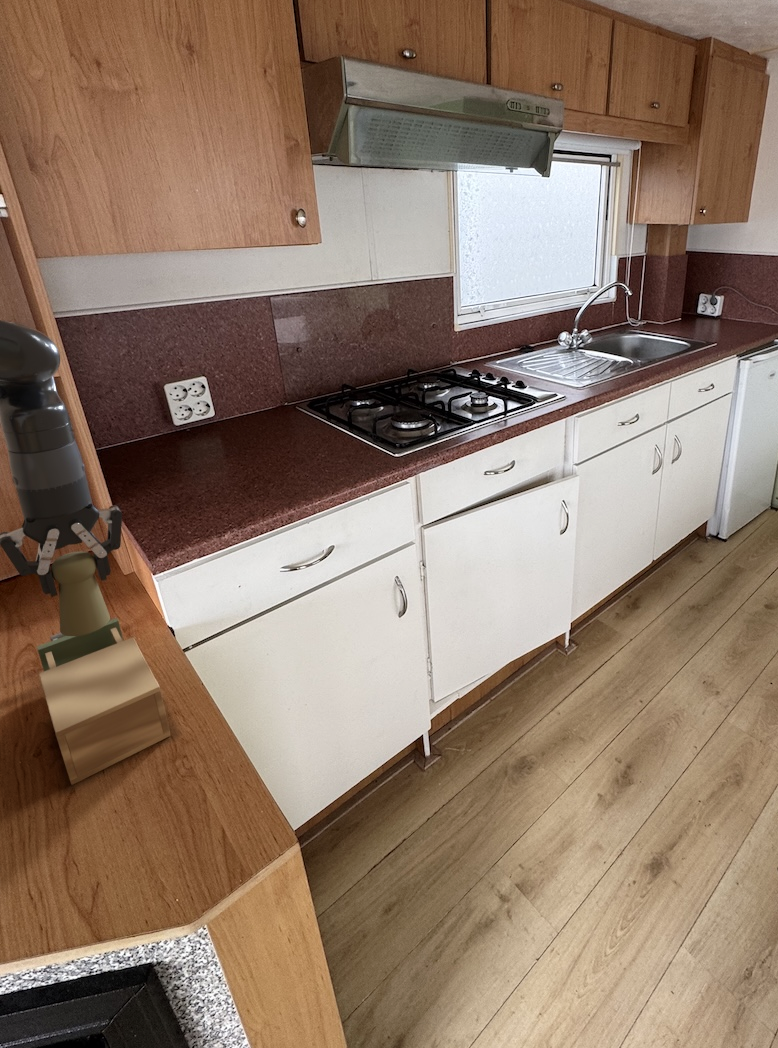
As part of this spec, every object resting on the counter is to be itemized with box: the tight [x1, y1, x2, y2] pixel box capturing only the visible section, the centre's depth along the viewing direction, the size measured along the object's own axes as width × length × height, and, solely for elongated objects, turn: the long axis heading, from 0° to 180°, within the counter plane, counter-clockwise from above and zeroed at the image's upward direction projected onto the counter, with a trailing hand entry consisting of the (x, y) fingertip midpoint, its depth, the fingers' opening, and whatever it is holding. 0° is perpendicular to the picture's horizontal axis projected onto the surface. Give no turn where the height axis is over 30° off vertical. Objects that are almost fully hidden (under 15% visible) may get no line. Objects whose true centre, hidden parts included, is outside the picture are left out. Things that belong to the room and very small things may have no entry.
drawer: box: [36, 617, 124, 672], centre depth 93 cm, size 19×11×7 cm, turn 44°
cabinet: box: [38, 637, 171, 786], centre depth 85 cm, size 15×12×9 cm
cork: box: [50, 551, 111, 636], centre depth 83 cm, size 6×6×11 cm
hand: (78, 585), depth 82 cm, fingers closed on cork, 5 cm apart
